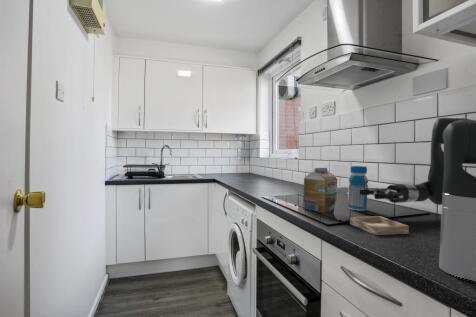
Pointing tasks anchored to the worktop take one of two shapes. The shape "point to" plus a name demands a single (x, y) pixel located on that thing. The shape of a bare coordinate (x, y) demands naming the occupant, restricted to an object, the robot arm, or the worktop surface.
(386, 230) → the tray
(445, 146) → the robot arm
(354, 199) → the beverage bottle
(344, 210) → the salt shaker
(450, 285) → the worktop surface
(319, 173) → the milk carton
